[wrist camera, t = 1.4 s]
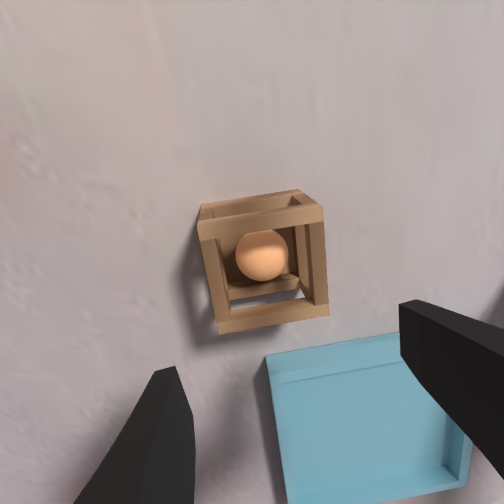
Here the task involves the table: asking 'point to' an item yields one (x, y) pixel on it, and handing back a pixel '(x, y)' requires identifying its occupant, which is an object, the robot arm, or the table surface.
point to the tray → (361, 426)
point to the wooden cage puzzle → (292, 277)
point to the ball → (262, 255)
